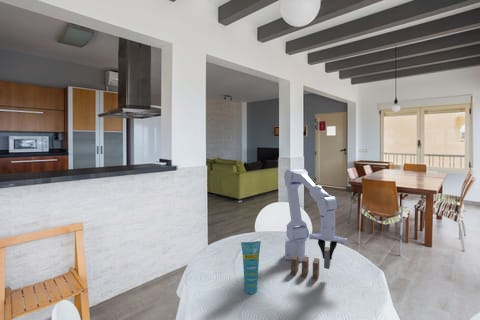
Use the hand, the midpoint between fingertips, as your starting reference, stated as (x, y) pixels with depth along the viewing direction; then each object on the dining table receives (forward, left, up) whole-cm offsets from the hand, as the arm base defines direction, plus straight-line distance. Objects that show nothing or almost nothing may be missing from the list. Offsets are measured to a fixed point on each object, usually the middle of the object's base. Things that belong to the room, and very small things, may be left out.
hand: (327, 258), depth 105 cm
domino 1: (-14, 0, -9) cm, 16 cm away
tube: (-26, -21, -9) cm, 34 cm away
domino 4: (0, 0, -3) cm, 3 cm away
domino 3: (-5, 0, -9) cm, 10 cm away
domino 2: (-9, 0, -9) cm, 13 cm away
